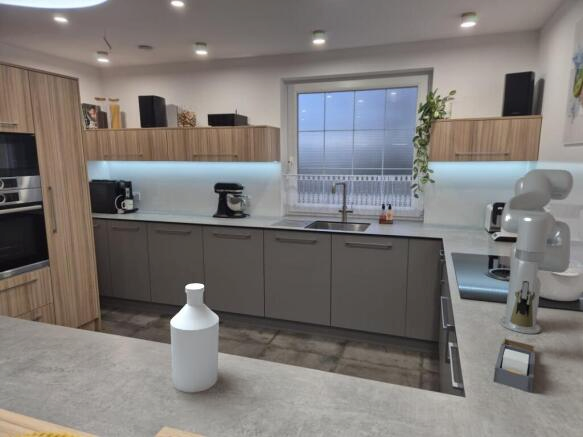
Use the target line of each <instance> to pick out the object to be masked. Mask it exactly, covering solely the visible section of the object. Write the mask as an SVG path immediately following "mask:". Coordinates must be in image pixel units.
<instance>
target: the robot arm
mask: <svg viewBox="0 0 583 437" xmlns="http://www.w3.org/2000/svg"><path fill="white" fill-rule="evenodd" d="M573 188H574V176H573V175H572V173H571V172H570V171H569V170H566V169H548V168H547V169H545V168H540V169H539V168H536V169H532V170H530V171H528V172H526V173H525V175H524V177H523V176H522V177H520V178H519V179H517V180H516V182H515V184H514V196H512V197H511V198H509V199H508V200H507V201H506V203H505V204H504V207H503V211H502V215H501V216H502V217H501V226H502V227H501V228H502V229H503V231H505V232H507V233H509V234H517V236H516V242H513V244H512V245H511V246H510V247H509V248H510V250H509V260H510V261H509V263H510V264H509V265H510V266H509V267H510V268H509V269H510V271H509V280H508V281H509V282H508V292H507V297H506V305H505V306H506V307H505V308H506V309H505V315H504V316H503V317H501V318H500V319H499V324H500V325H501V326H503V327H504V328H506V329H508V330H511V331H514V332H516V333H522V334H531V335H533V334H538V333H540V332H541V327H540V325H539V324H537V315H538V308H539V302H540V300H539V299H540V294H541V286H542V284H541V283H542V282H541V280H540V278H539V276H538V274H539V273H538V272H539V271H543V272H549V273H550V272H551V273H565V272H566V271H567V270H568V269H569V267H570V262H571V260H570V259H571V229H570V226H569V224H568V223H566V222H565V221H560V220H556V218H555V217H554V215H553V214H551V213H549V212H546V209H545V207H547V206H548V204H549V203H550V201H551V200H555V201H560V200H561V201H563V200H566V199H567V198H568V197H569V195H570V193H571V192H572V189H573ZM519 291H520V292H519ZM521 291H522V293H521ZM516 292H519V300H518V302H517V309H516V315H517V313H518V311H519V313H520V314H523V315H524V314H525V313H526V312H527V317H528V315H529V308H530V304H529V300H530V296H531V295H533V292H534V293H535V298H534V300H533V301H532V312H533V326H532V327H521V326H518V325H515V324H513V323H511V322H510V319H511V316H512V312H513V309H514V305H515V302H516V296H515V293H516ZM527 292H529V294H527ZM521 295H522V296H521ZM527 296H528V298H527Z"/></svg>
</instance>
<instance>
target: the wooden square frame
mask: <svg viewBox="0 0 583 437" xmlns="http://www.w3.org/2000/svg"><path fill="white" fill-rule="evenodd" d="M502 344H505V345H509V346H513V347H517V348H521V349H525V350H529V351H533V352H536V350H535V348H536V346H535V345H531V344H526V343H522V342H519V341H515V340H511V339H508V338H503V341H502Z"/></svg>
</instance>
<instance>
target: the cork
mask: <svg viewBox="0 0 583 437" xmlns="http://www.w3.org/2000/svg"><path fill="white" fill-rule="evenodd" d="M519 292H520V291H519ZM519 292H516V293H515V296H516V302H515V305H514V309H513V312H512V316H511V319H510V322H511V323H513V324H515V325H518V326H521V327H532V326H533V312H532V301H533V300H534V298H535V293H534V292H533V295H531V296H530V300H529V304H530V308H529V315H528V317H527V312H526V313H525V314H524V315H523V314H520V313H519V311H518V313H517V315H516V309H517V302H518V300H519ZM521 293H522V291H521ZM527 294H529V292H527ZM521 296H522V295H521ZM527 298H528V296H527Z"/></svg>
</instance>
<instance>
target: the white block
mask: <svg viewBox="0 0 583 437" xmlns="http://www.w3.org/2000/svg"><path fill="white" fill-rule="evenodd" d="M528 359H529V355H528V354H524V353H520V352H517V351H513V350H509V349H505V352H504V356H503V363H502V369H506V370H507V369H508V370H511V371H515V372H518V373H521V374H523V375H526V376H527V368H528Z"/></svg>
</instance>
